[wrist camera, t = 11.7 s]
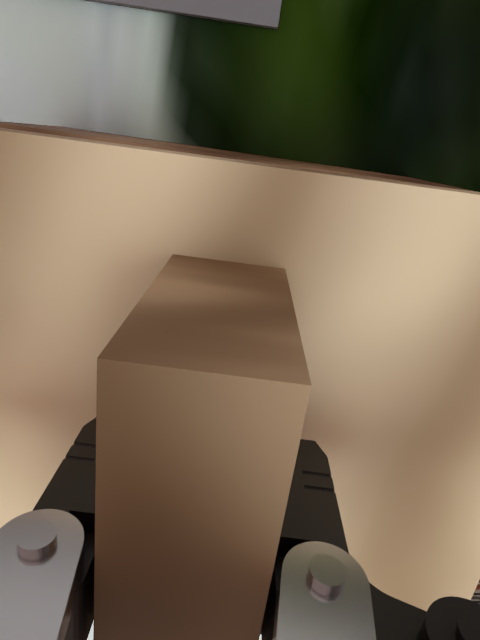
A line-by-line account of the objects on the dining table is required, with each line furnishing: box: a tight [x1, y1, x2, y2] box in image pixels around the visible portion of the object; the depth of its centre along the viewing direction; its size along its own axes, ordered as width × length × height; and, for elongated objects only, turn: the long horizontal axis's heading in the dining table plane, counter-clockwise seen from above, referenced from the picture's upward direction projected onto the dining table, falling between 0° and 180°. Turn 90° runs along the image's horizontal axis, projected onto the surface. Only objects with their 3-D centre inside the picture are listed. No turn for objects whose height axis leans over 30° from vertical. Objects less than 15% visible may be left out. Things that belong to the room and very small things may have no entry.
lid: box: [0, 128, 480, 640], centre depth 9 cm, size 16×12×6 cm
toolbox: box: [0, 122, 476, 192], centre depth 19 cm, size 20×12×8 cm, turn 82°
